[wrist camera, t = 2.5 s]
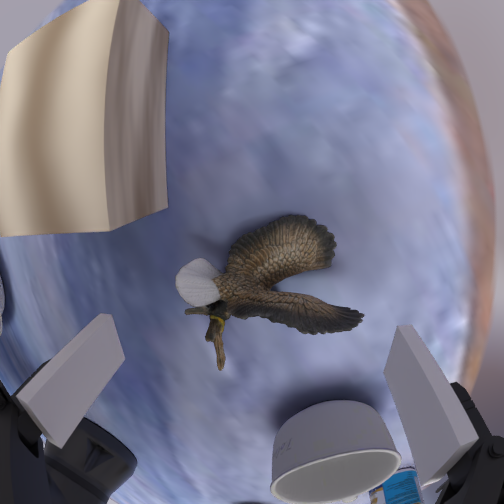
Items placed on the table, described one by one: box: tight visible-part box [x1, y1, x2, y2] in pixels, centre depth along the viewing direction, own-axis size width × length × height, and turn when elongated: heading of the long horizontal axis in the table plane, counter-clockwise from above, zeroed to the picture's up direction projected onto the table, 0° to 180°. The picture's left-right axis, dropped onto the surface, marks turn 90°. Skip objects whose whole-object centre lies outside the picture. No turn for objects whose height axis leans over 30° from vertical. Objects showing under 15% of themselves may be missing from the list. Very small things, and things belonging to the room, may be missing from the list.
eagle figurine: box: [175, 215, 364, 371], centre depth 15 cm, size 8×7×9 cm
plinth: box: [0, 0, 169, 237], centre depth 13 cm, size 10×13×7 cm
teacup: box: [270, 400, 402, 504], centre depth 19 cm, size 14×11×8 cm
